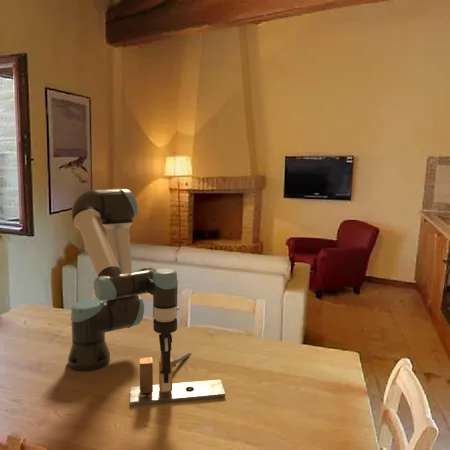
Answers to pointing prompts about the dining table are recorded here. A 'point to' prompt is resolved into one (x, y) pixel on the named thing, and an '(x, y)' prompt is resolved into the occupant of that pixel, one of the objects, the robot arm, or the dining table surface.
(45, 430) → the dining table surface
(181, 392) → the bar
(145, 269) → the robot arm
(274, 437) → the dining table surface
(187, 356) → the caliper
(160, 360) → the slide leg
